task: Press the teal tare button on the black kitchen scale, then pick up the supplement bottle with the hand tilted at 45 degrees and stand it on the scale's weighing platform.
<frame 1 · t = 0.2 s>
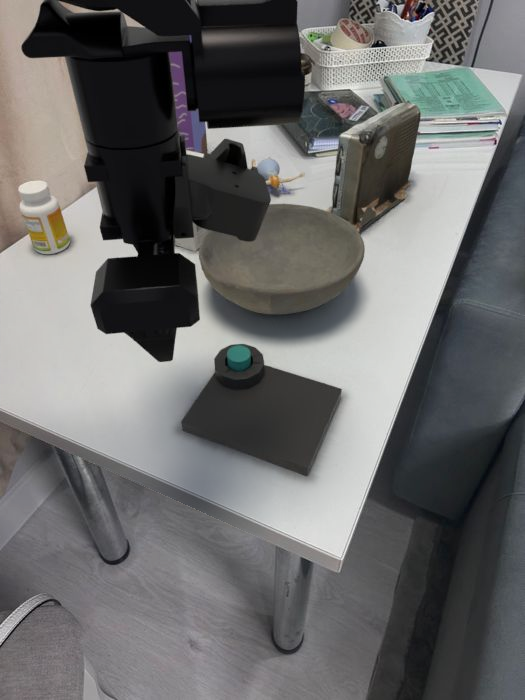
hand: (165, 320, 43), 16 cm above the table, tool pointing down, fingers open, 9 cm apart
tare button: (239, 358, 57), point 3 cm above the table, slide at 0.1 cm
bowl: (279, 292, 71), on the table
scale: (263, 413, 56), on the table
supplement bottle: (53, 246, 79), on the table
fairy figurine: (268, 183, 94), on the table
ink box: (188, 233, 82), on the table
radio: (368, 201, 89), on the table
cereal box: (191, 178, 96), on the table
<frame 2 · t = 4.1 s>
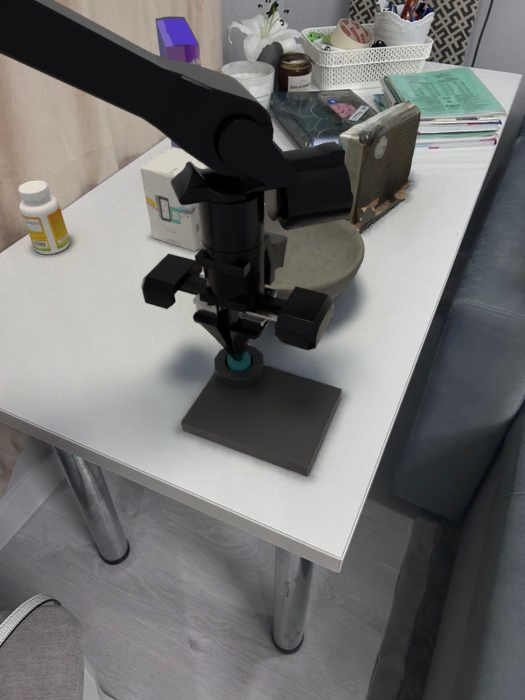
hand: (238, 358, 57), 3 cm above the table, tool pointing down, fingers closed, pressing on tare button
tare button: (239, 362, 57), point 3 cm above the table, slide at -0.6 cm, touching gripper
everything else where it was.
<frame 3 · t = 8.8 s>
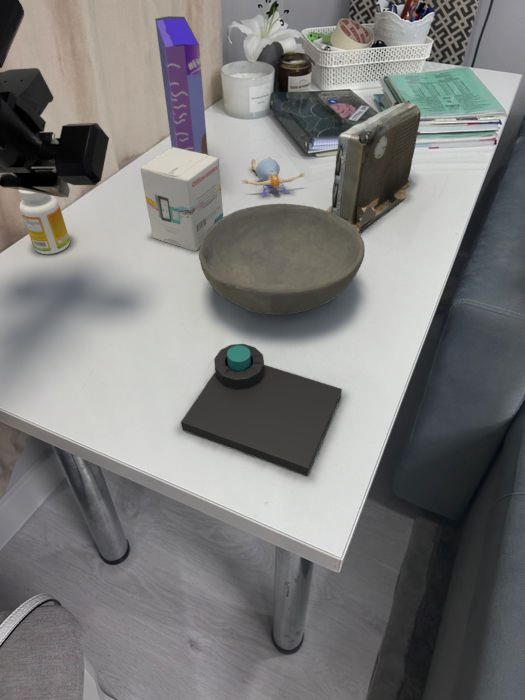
hand: (66, 193, 64), 13 cm above the table, tool tilted 35°, fingers closed
tare button: (239, 358, 57), point 3 cm above the table, slide at 0.1 cm
everything else where it was.
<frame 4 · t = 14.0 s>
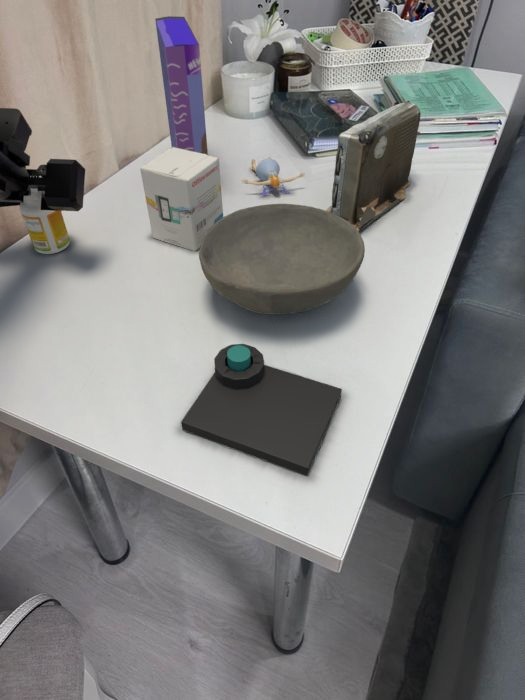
hand: (43, 201, 76), 7 cm above the table, tool tilted 45°, fingers closed on supplement bottle, 5 cm apart
supplement bottle: (52, 246, 79), on the table, touching gripper
everything else where it was.
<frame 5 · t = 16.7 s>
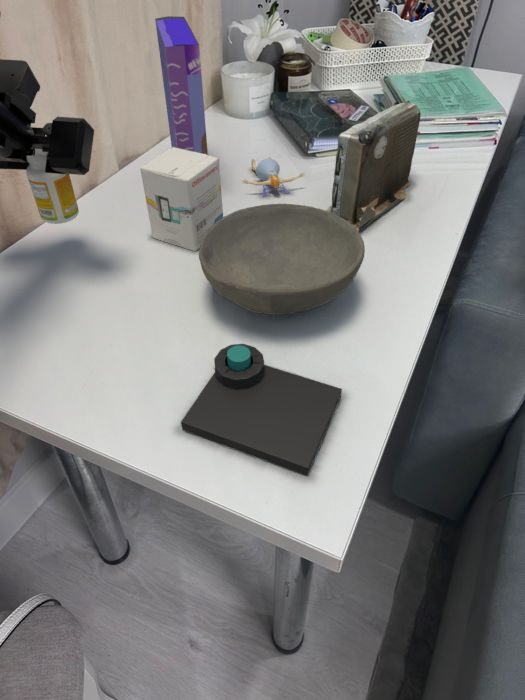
hand: (52, 167, 71), 12 cm above the table, tool tilted 45°, fingers closed on supplement bottle, 5 cm apart
supplement bottle: (60, 216, 75), point 5 cm above the table, touching gripper
everything else where it was.
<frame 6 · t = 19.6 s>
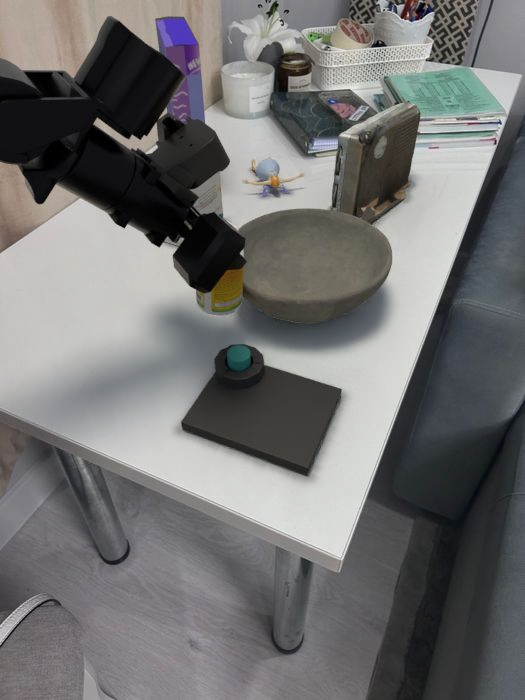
hand: (230, 251, 56), 12 cm above the table, tool tilted 45°, fingers closed on supplement bottle, 5 cm apart
bowl: (304, 298, 70), on the table
supplement bottle: (219, 303, 60), point 6 cm above the table, touching gripper
everything else where it was.
when the fingers open (8 cm above the table, at t = 23.6 s): supplement bottle stays where it is, resting on scale.
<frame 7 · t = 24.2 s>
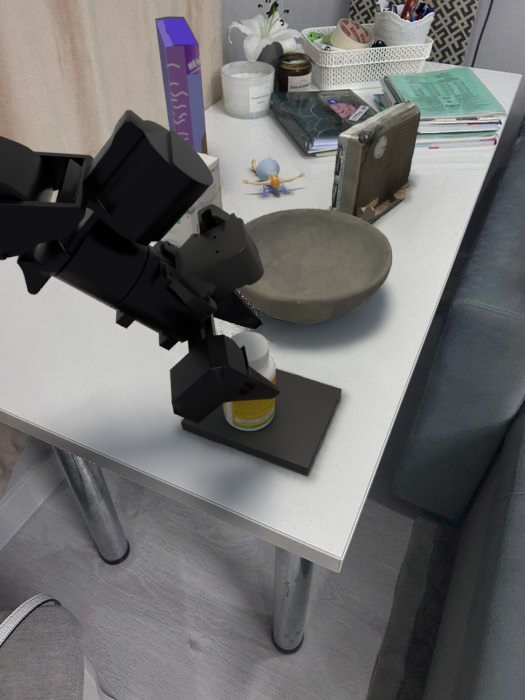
hand: (267, 357, 48), 9 cm above the table, tool tilted 45°, fingers open, 9 cm apart
supplement bottle: (249, 413, 54), point 1 cm above the table, touching scale
everything else where it was.
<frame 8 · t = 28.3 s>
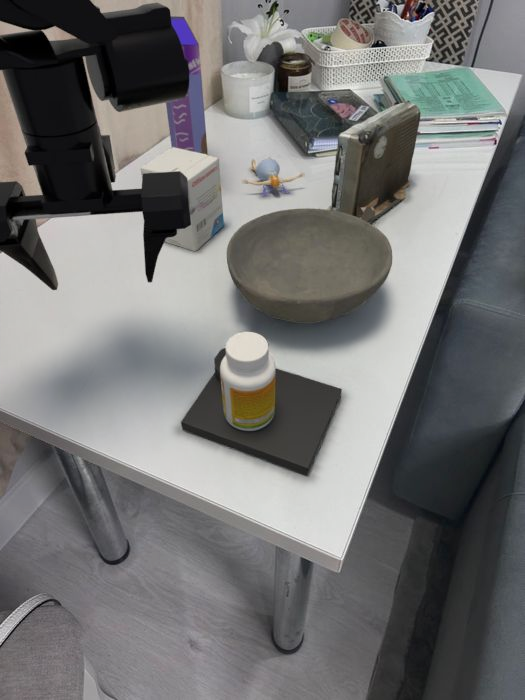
hand: (103, 283, 51), 13 cm above the table, tool pointing down, fingers open, 9 cm apart
nothing on the table moved.
at the end: tare button pushed in 0.9 cm at the most during the clip, back to where it started at the end; supplement bottle inside the target area on the scale (0.6 cm from its centre), point 1.2 cm above the scale's base; supplement bottle tilted 0° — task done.
